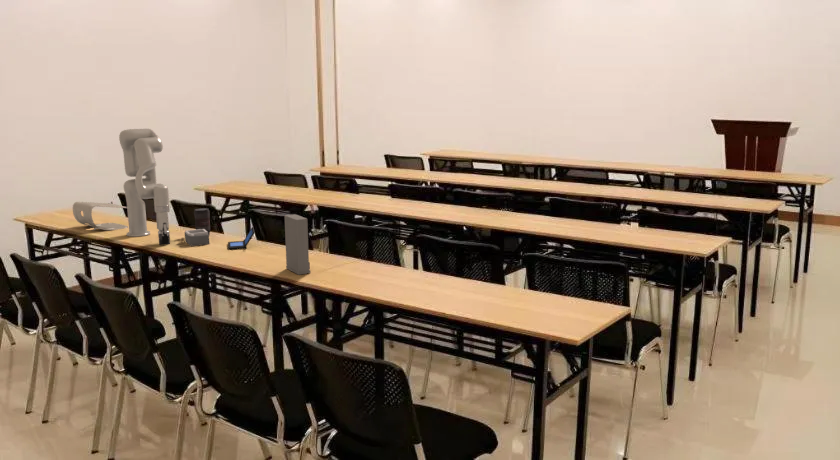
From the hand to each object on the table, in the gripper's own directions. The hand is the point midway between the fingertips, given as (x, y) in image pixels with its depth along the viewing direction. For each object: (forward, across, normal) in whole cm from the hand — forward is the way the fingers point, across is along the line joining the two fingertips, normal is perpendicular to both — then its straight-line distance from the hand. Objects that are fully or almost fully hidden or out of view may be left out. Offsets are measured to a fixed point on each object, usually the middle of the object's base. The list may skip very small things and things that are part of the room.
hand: (164, 242), depth 383 cm
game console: (+1, +25, +35) cm, 43 cm away
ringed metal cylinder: (+1, 0, 0) cm, 1 cm away
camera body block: (+1, +5, +16) cm, 17 cm away
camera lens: (+1, -13, +23) cm, 26 cm away
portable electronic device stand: (+1, -66, -25) cm, 70 cm away
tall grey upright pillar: (+1, +90, +44) cm, 100 cm away
